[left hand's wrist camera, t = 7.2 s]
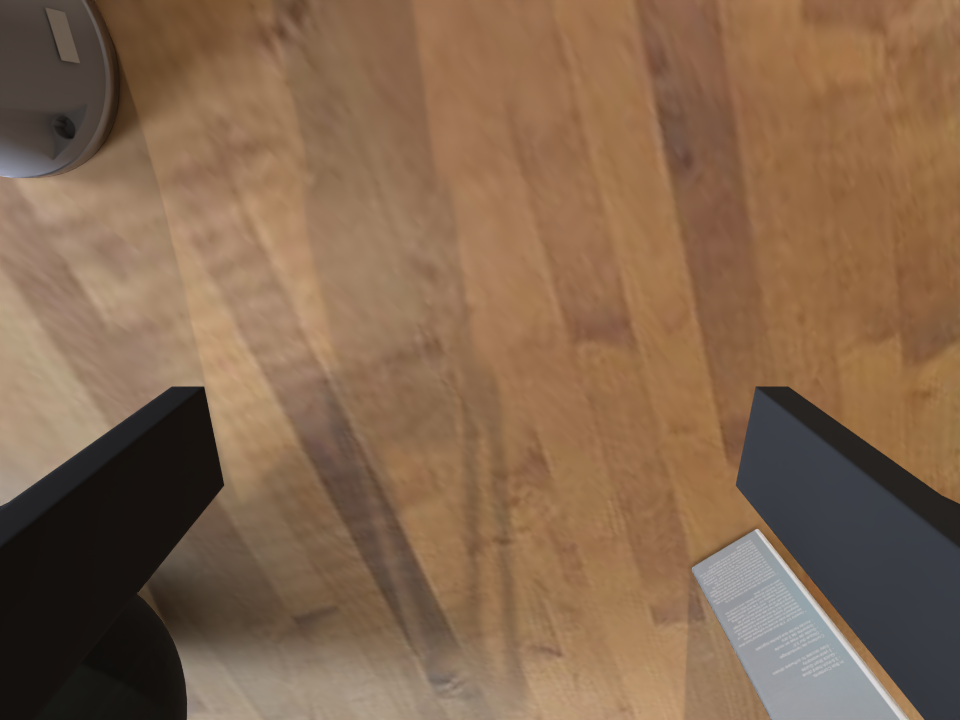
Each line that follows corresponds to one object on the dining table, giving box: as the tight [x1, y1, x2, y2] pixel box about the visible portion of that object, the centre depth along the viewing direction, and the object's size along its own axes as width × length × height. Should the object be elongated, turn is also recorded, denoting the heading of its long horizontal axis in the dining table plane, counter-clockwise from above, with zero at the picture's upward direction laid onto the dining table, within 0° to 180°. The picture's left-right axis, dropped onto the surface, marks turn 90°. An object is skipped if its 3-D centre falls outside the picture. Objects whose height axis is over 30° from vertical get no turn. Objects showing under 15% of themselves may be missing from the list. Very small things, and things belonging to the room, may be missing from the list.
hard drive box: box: [692, 529, 910, 720], centre depth 41 cm, size 16×8×20 cm, turn 40°
